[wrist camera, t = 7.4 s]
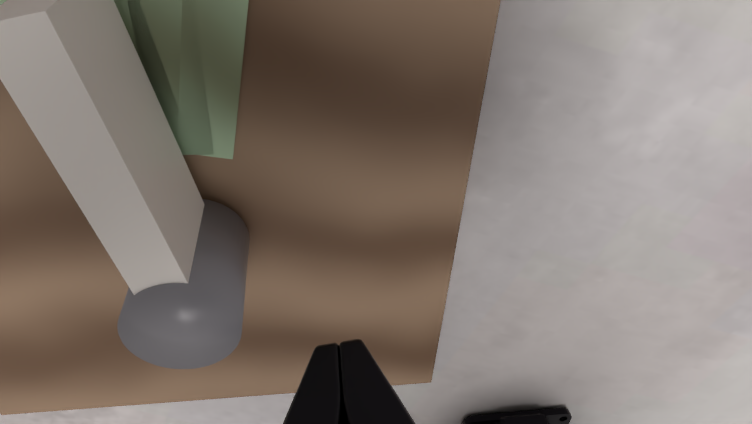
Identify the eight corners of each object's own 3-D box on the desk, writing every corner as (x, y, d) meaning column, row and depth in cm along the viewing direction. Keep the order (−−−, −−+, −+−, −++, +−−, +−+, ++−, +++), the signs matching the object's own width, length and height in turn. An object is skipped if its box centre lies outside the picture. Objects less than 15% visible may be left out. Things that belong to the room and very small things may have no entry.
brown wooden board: (426, 363, 29) (431, 385, 28) (12, 392, 26) (-1, 418, 25) (496, -56, 17) (511, -46, 16) (-241, -84, 14) (-286, -74, 13)
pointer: (261, 263, 21) (256, 355, 18) (170, 283, 21) (147, 379, 18) (138, -45, 15) (90, 3, 11) (5, -17, 15) (-86, 41, 11)
